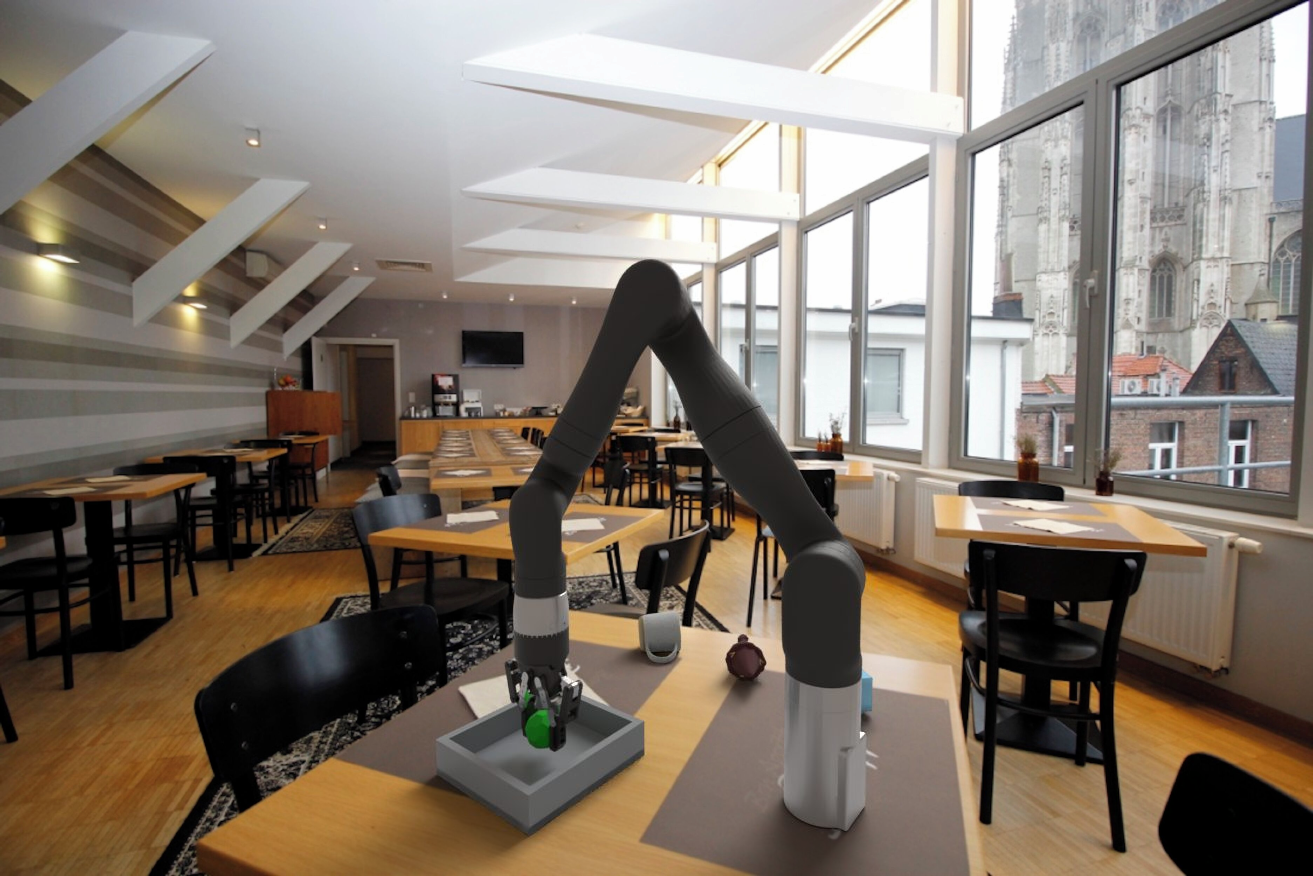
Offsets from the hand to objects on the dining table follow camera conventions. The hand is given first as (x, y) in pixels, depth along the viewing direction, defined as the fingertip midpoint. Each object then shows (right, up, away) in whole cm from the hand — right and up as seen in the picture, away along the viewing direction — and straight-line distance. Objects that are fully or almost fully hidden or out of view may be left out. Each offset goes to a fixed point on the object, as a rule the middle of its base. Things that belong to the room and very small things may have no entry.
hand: (543, 741), depth 88 cm
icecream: (+32, -2, +27) cm, 42 cm away
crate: (0, -3, 0) cm, 3 cm away
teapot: (+46, -2, +17) cm, 49 cm away
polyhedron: (0, -1, 0) cm, 1 cm away
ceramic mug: (+17, -1, +38) cm, 41 cm away
